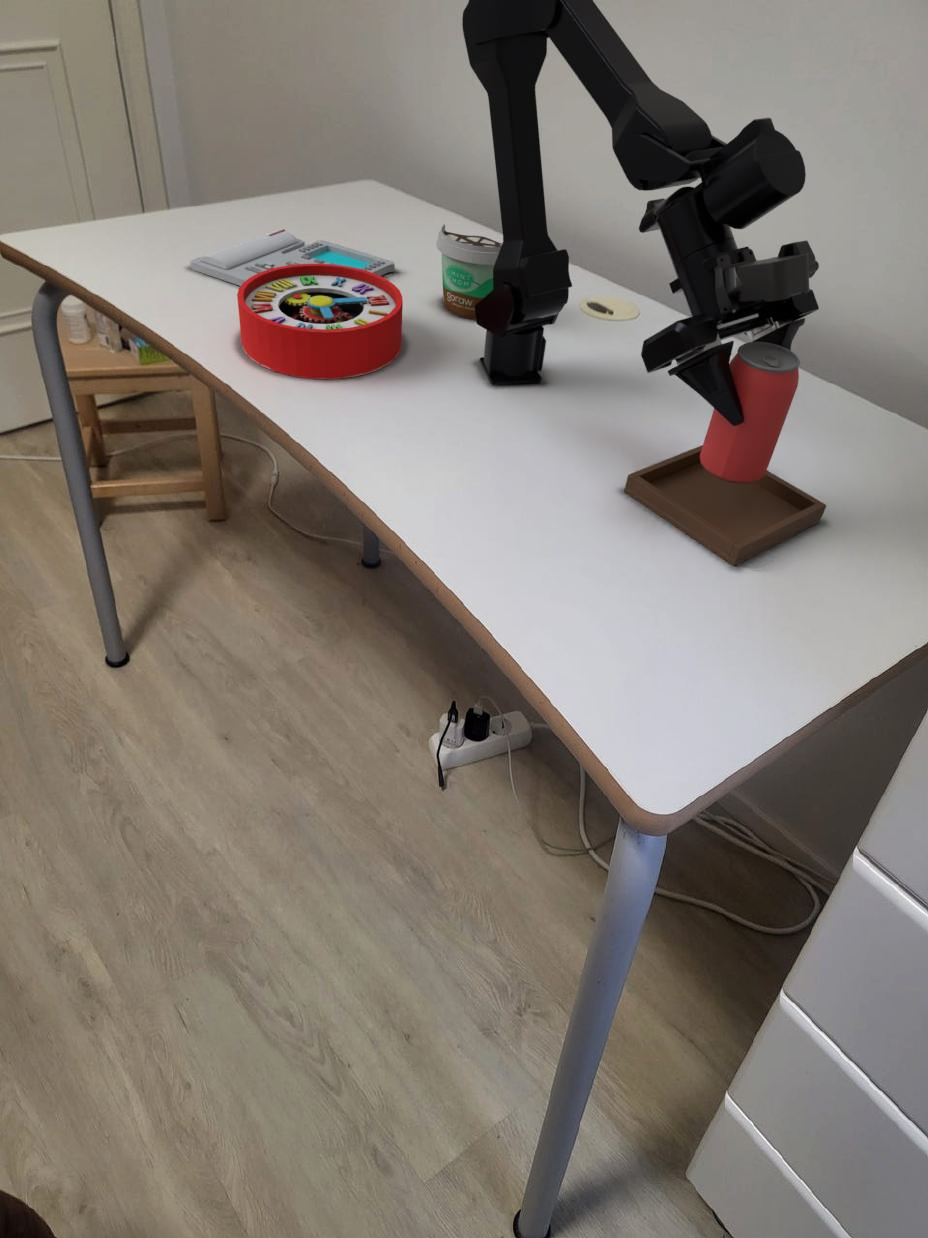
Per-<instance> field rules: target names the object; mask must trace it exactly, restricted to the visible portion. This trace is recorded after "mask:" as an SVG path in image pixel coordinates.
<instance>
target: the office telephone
mask: <svg viewBox="0 0 928 1238" xmlns="http://www.w3.org/2000/svg"><path fill="white" fill-rule="evenodd" d="M305 243H306V241H304V240H303V239H299V238H297V237H296V236H295V235H294V234H292V233H291V232H290V231H286V229H285V228H284V229H276V230H272V231H270V232H267V233H265V234H261V235H259V236H256V237H253V238H251V239H247V240H245V241H242V242H240V243H236V244H233V245H231V246H228V247H226V248H223V249H220V250H217V251H215V252H212V253H209V254H207V255H203V256H200V257H198V258H194V259H192V260H189V262H190V263H189V264H190V269H191V270H193V271H195V272H198V273H202V274H204V275H207V276H210V277H213V278H216V279H218V280H220V281H224V282H228V283H230V284H233V285H236V286H239V287H240V286H241V285H242V284H243V283H244V282H245V281H246V280H247V279H249V278H250V277H252V276H254V275H256V274H258V273H261V272H263V271H266V270H269V269H273V268H277V267H282V266H288V265H296V264H333V265H342V266H348V267H353V268H358V269H362V270H365V271H369V272H371V273H374V274H377V275H379V276H381V277H383V276H384V275H386V274H388V273H391V272H395V267H396V266H395V265H396V264H395V262H394V261H392V260H389V259H387V258H384V257H380V256H377V255H373V254H371V253H368V252H365V251H360V250H357V249H354V248H351V247H348V246H344V245H341V244H338V243H334V242H330V241H327V240H323V239H318V240H316V241H314V242H312V243H309V244H307V245H305Z"/></svg>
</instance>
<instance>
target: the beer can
mask: <svg viewBox="0 0 928 1238" xmlns="http://www.w3.org/2000/svg"><path fill="white" fill-rule="evenodd" d="M800 364H801V360H800V358H799V356H798V355H797V354H796V353H795V352H793V351H792V350H791V351H790V350H789V349H787V348H784V347H782V346H779V345H776V344H772V343H766V342H749V341H748V342H746V343H743V344H741V345H740V346H738V349H737V353H736V354H735V355H734V356H733V357H732V359H730V361H729V366H730V370H731V373H732V376H733V380H734V383H735V386H736V390H737V393H738V397H739V400H740V403H741V407H742V412H743V417H744V422H743V423H742V424H739V425H737V426H733V425H732V424H731V423H730V422H729V421H727V420H726V419H725V418H724V417H723V416H722V415H721V414H720V413H719V412H718V411H717V410H716V409H715V408H714V407H713V411H712V414H711V416H710V417H711V418H710V421H709V425H708V427H707V430H706V434H705V437H704V439H703V440H704V441H703V444H702V445H703V447H702V450H701V453H700V460H701V464H702V466H703V467H704V468H705V470H706V471H707V472H709V473H710V474H711V475H713V476H714V477H716V478H718V479H720V480H723V481H726V482H730V483H737V484H746V483H752V482H755V481H758V480H759V479H761V478H762V477H763V476H764V475H765V474H766V471H768V468H769V465H770V462H771V460H772V457H773V455H774V451H775V449H776V447H777V443H778V440H779V438H780V435H781V432H782V430H783V428H784V424H785V422H786V419H787V416H788V413H789V411H790V408H791V406H792V402H793V400H794V397H795V395H796V392H797V390H798V386H799V380H800V375H799V374H800V373H799V372H800V371H799V367H800Z"/></svg>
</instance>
